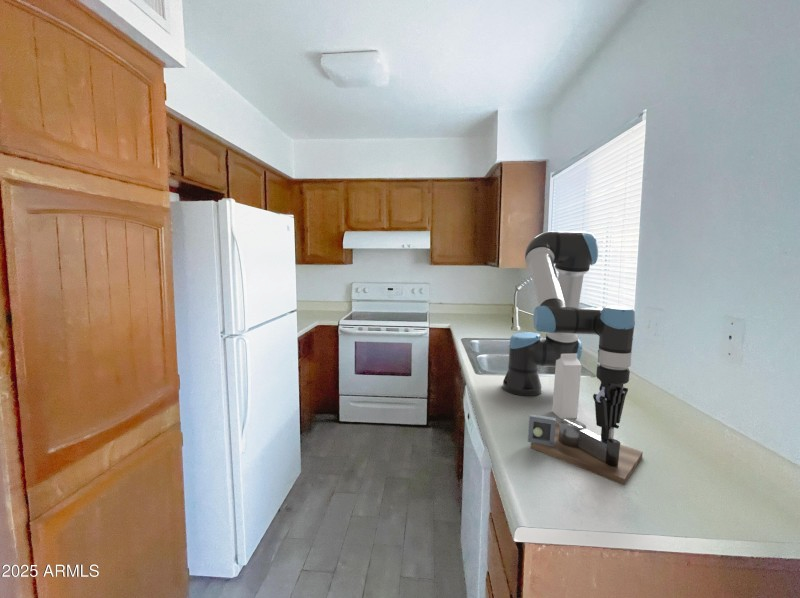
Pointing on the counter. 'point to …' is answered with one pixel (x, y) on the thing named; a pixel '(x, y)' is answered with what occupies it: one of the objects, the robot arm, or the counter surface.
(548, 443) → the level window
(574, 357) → the milk
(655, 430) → the counter surface
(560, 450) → the stand board
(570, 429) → the crank handle
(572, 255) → the robot arm
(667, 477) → the counter surface
